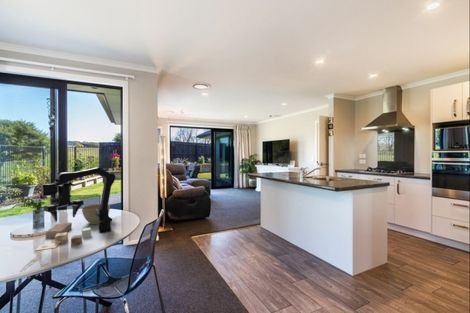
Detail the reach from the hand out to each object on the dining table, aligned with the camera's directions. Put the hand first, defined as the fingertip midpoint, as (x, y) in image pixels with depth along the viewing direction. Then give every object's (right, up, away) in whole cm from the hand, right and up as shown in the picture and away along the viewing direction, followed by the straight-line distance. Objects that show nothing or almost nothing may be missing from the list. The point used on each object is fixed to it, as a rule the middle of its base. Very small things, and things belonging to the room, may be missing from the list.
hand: (65, 219), depth 136 cm
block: (+8, -13, +8) cm, 17 cm away
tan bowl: (-2, -12, +34) cm, 36 cm away
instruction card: (-3, -13, -9) cm, 16 cm away
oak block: (-1, -13, -1) cm, 13 cm away
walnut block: (+10, -13, -5) cm, 17 cm away
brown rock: (-13, -13, +12) cm, 22 cm away
